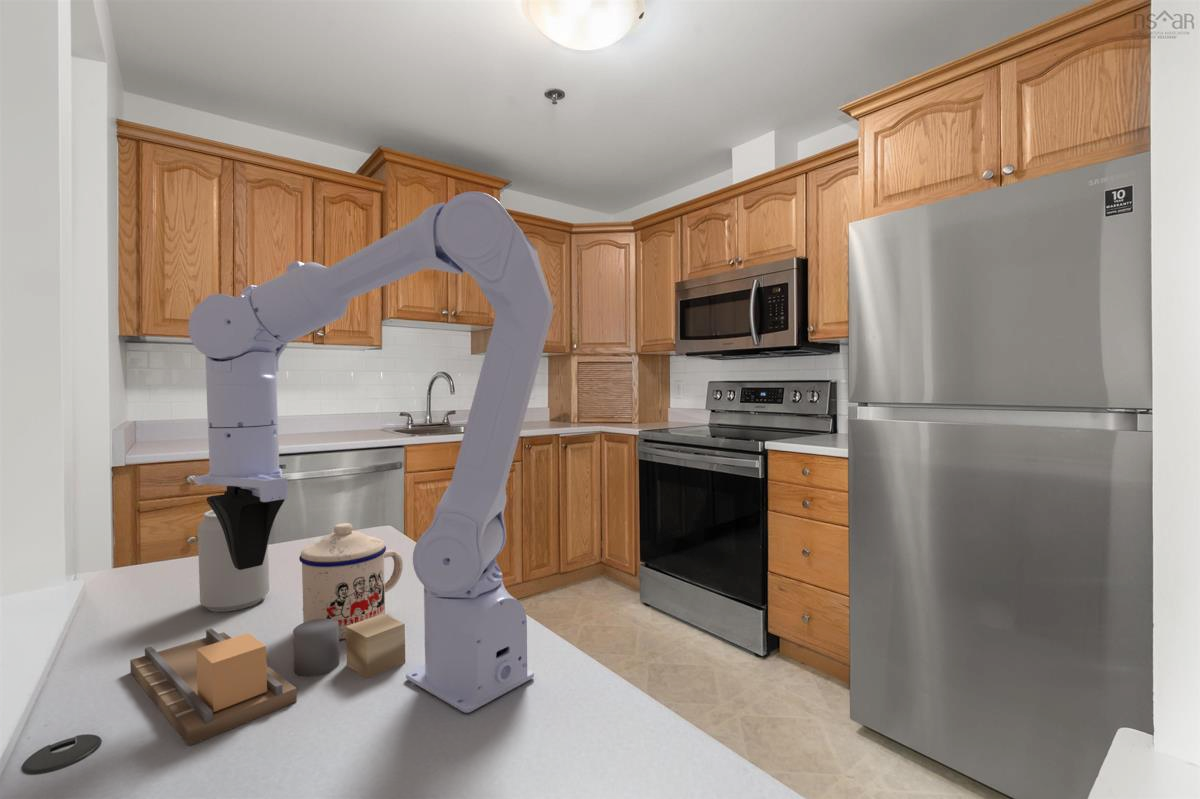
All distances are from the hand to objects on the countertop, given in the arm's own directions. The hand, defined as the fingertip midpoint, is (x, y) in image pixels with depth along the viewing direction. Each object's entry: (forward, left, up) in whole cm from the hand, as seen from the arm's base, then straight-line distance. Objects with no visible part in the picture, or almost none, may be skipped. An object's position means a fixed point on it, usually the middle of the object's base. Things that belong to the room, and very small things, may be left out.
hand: (248, 566), depth 56 cm
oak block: (-8, -8, -10) cm, 16 cm away
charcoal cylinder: (-4, -4, -10) cm, 12 cm away
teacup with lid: (+3, -12, -11) cm, 17 cm away
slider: (-6, +4, -9) cm, 11 cm away
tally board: (0, +4, -10) cm, 11 cm away
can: (+21, -5, -11) cm, 24 cm away
